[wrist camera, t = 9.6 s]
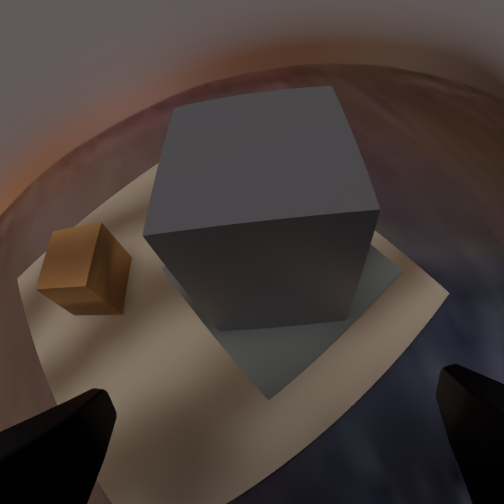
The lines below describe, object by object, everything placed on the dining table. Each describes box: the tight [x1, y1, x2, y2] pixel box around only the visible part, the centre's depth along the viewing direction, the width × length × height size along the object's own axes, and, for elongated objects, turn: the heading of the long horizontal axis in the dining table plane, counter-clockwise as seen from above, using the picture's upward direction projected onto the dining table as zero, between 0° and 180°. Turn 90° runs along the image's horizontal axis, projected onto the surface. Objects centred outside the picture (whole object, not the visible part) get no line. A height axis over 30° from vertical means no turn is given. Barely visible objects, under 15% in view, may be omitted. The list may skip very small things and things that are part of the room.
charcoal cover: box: [142, 86, 380, 331], centre depth 14 cm, size 7×7×9 cm
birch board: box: [17, 163, 449, 504], centre depth 18 cm, size 22×22×1 cm
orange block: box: [36, 222, 132, 315], centre depth 17 cm, size 4×4×4 cm
